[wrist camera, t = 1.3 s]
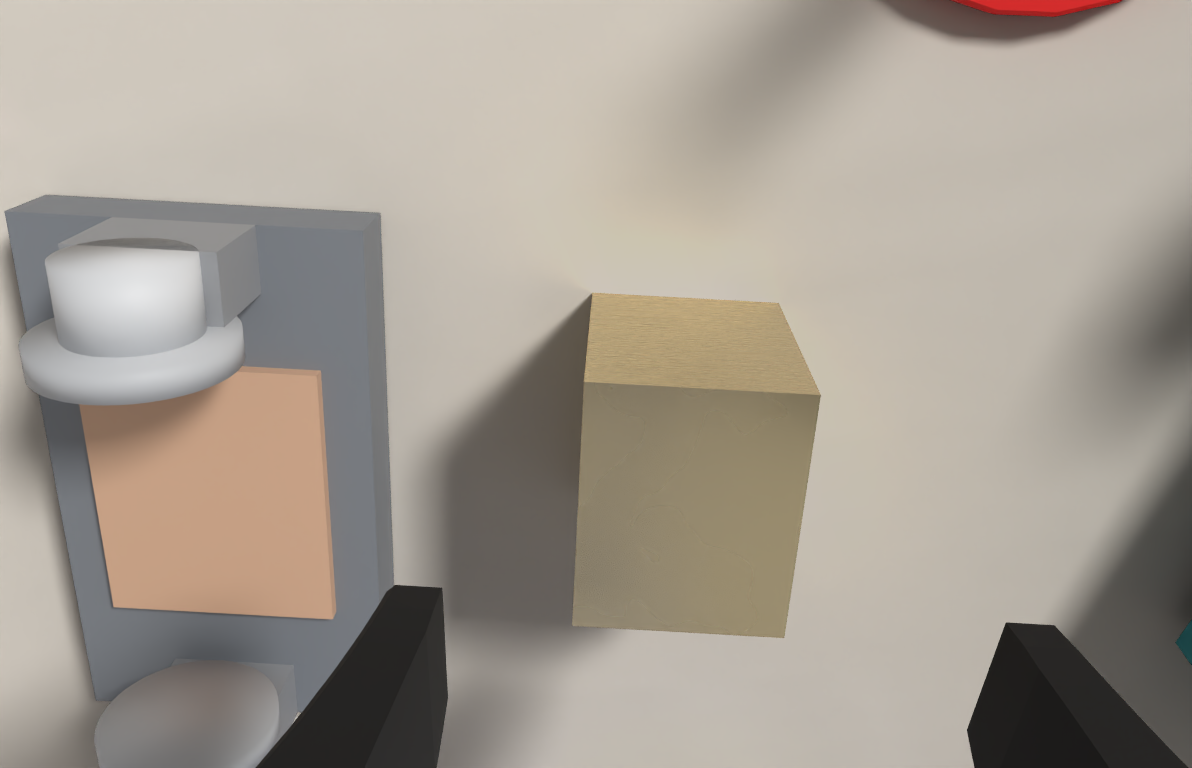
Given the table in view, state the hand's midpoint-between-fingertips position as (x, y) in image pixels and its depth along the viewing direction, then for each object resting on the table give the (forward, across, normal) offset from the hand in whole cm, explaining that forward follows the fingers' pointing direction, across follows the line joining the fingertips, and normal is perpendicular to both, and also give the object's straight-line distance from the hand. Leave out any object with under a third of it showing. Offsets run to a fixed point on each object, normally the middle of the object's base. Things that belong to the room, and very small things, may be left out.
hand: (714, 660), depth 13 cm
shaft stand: (+9, +10, +4) cm, 14 cm away
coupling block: (+10, 0, +2) cm, 10 cm away
